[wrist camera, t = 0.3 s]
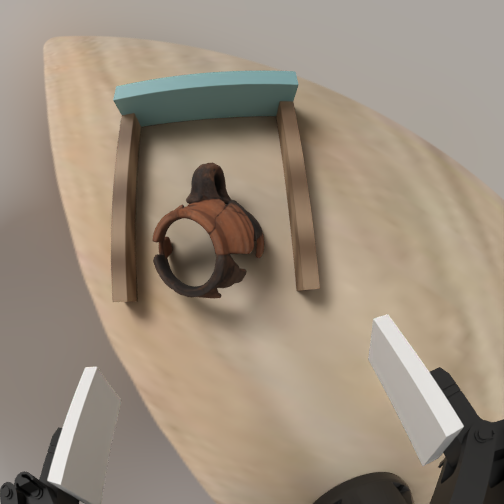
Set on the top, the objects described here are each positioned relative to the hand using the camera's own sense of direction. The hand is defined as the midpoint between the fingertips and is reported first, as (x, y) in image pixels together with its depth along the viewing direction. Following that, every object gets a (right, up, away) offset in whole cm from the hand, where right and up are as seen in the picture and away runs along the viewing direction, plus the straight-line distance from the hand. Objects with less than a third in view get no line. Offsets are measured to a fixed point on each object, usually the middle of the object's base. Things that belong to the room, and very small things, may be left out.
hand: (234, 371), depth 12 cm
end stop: (-4, +22, +19) cm, 29 cm away
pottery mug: (-3, +7, +17) cm, 18 cm away
